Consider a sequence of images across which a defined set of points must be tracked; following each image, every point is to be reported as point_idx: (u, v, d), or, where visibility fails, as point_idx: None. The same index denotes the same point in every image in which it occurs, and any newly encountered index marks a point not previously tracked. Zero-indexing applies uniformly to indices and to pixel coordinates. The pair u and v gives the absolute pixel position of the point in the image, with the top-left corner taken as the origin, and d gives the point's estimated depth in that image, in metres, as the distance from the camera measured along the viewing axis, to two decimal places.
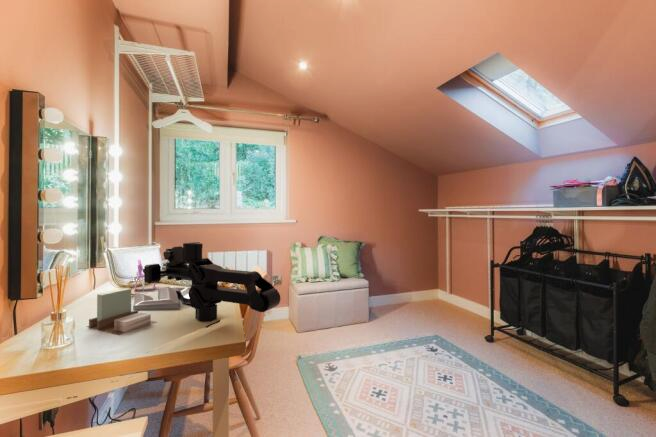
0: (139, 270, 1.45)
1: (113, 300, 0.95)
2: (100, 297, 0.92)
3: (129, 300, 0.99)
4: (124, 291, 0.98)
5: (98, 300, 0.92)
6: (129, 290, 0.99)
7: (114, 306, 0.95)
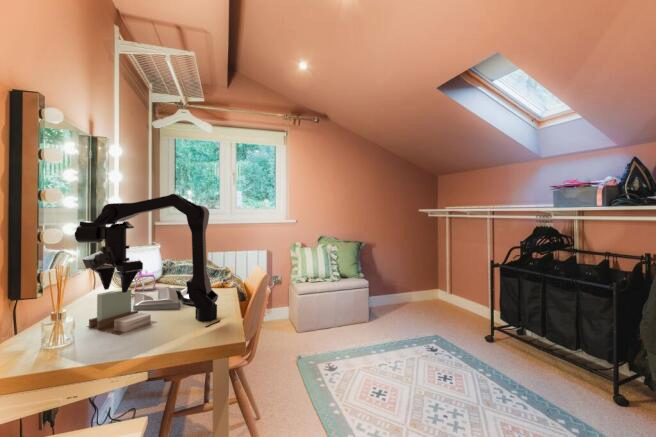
0: None
1: (113, 300, 0.95)
2: (100, 297, 0.92)
3: (129, 300, 0.99)
4: None
5: (98, 300, 0.92)
6: (129, 290, 0.99)
7: (114, 306, 0.95)
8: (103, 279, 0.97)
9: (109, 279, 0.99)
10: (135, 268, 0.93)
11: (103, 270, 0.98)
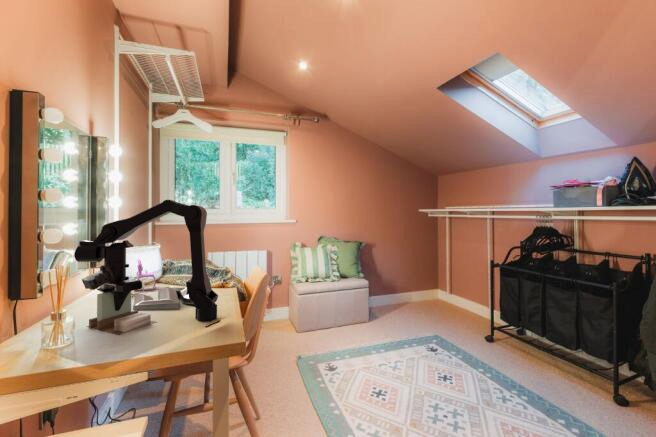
0: (139, 270, 1.45)
1: (113, 300, 0.95)
2: (100, 297, 0.92)
3: (129, 300, 0.99)
4: None
5: (98, 300, 0.92)
6: None
7: (114, 306, 0.95)
8: None
9: None
10: (135, 288, 0.93)
11: (109, 290, 0.96)
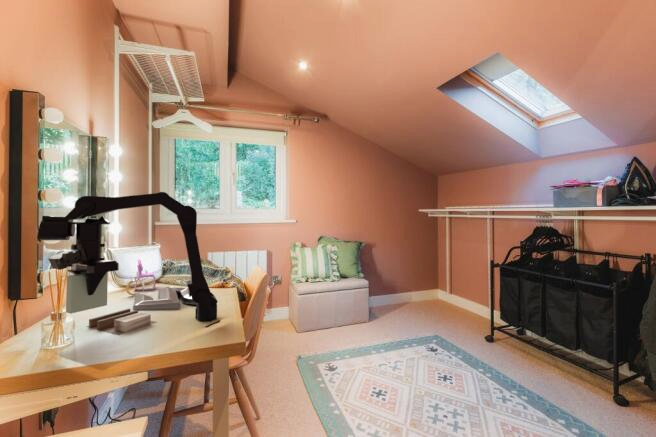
0: (139, 270, 1.45)
1: (85, 283, 0.84)
2: (69, 279, 0.81)
3: (105, 284, 0.88)
4: None
5: (68, 282, 0.82)
6: None
7: None
8: None
9: None
10: (109, 269, 0.82)
11: (81, 272, 0.86)
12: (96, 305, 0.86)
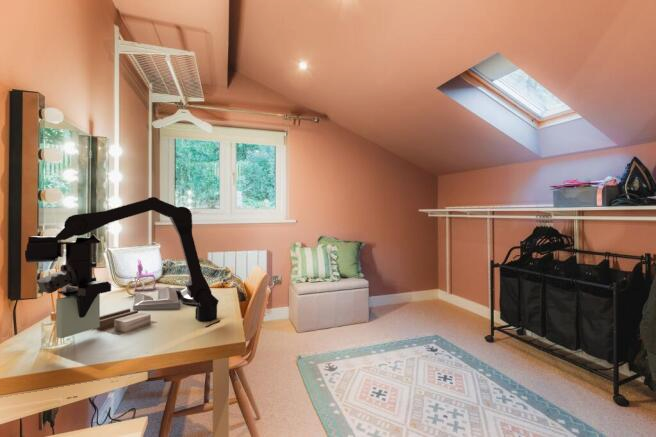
0: (139, 270, 1.45)
1: (76, 306, 0.80)
2: (59, 303, 0.78)
3: (97, 305, 0.85)
4: None
5: (57, 306, 0.78)
6: None
7: (78, 313, 0.81)
8: None
9: None
10: (101, 291, 0.79)
11: (72, 293, 0.82)
12: (88, 327, 0.83)
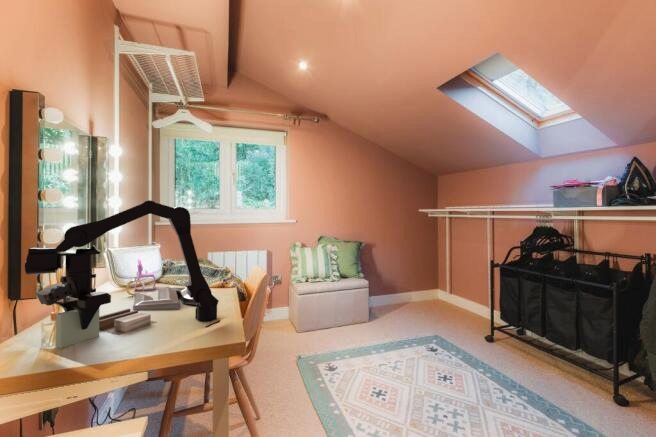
0: (139, 270, 1.45)
1: (76, 320, 0.80)
2: (59, 318, 0.78)
3: (97, 319, 0.85)
4: None
5: (57, 321, 0.78)
6: None
7: (78, 327, 0.81)
8: None
9: None
10: (101, 302, 0.79)
11: (69, 304, 0.83)
12: None
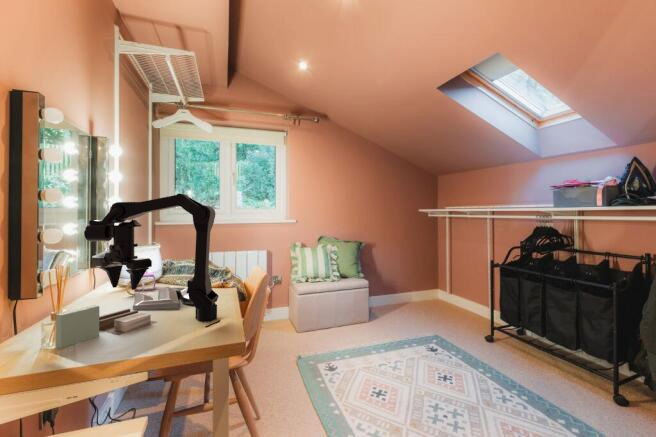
0: None
1: (76, 320, 0.80)
2: (59, 318, 0.78)
3: (96, 319, 0.85)
4: (90, 309, 0.83)
5: (57, 321, 0.78)
6: (96, 308, 0.85)
7: (78, 327, 0.81)
8: (111, 277, 0.98)
9: (117, 277, 1.00)
10: (145, 265, 0.94)
11: (111, 268, 0.99)
12: None
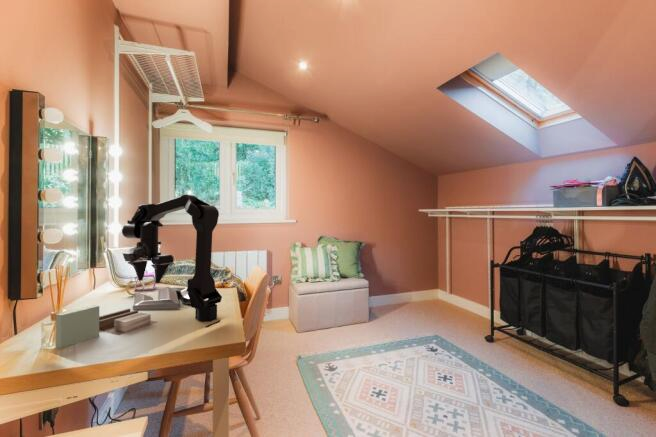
0: None
1: (76, 320, 0.80)
2: (59, 318, 0.78)
3: (96, 319, 0.85)
4: (90, 309, 0.83)
5: (57, 321, 0.78)
6: (96, 308, 0.85)
7: (78, 327, 0.81)
8: (138, 271, 1.10)
9: (143, 271, 1.12)
10: (167, 261, 1.06)
11: (138, 263, 1.10)
12: None
